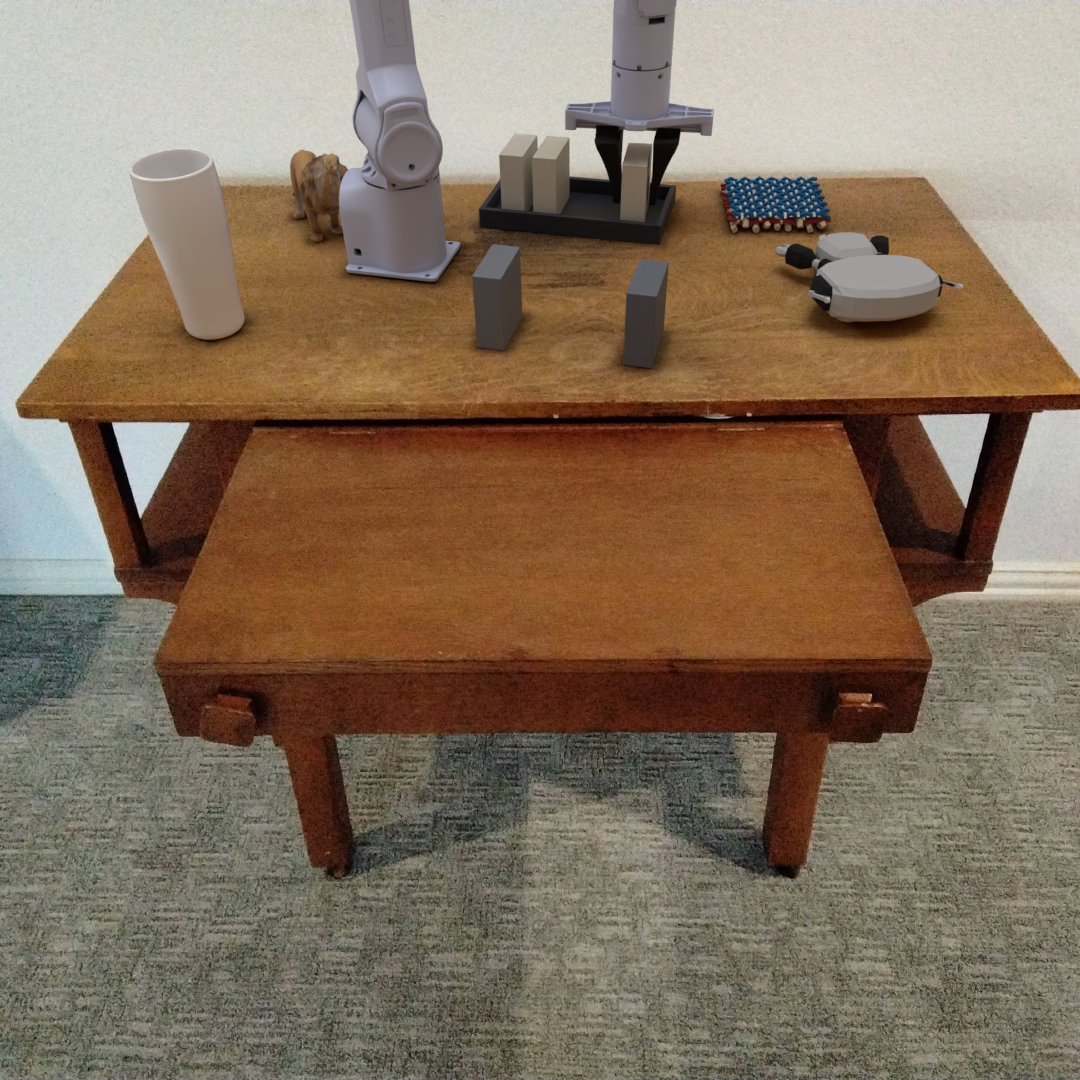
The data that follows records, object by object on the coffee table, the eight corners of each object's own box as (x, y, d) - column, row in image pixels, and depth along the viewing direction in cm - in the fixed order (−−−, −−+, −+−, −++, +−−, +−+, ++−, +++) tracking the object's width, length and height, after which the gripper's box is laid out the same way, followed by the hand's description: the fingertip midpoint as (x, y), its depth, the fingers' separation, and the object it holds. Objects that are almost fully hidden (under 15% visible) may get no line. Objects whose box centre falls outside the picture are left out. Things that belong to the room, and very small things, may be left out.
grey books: (477, 347, 85) (471, 276, 80) (496, 313, 89) (492, 243, 85) (652, 368, 82) (657, 296, 77) (663, 332, 86) (668, 261, 82)
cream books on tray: (501, 215, 103) (498, 154, 99) (517, 192, 108) (514, 133, 103) (556, 220, 102) (555, 159, 98) (569, 197, 106) (569, 137, 102)
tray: (479, 227, 103) (478, 208, 101) (506, 188, 110) (505, 170, 108) (659, 244, 99) (661, 225, 97) (675, 203, 106) (676, 185, 105)
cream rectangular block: (619, 227, 101) (622, 164, 96) (625, 203, 105) (628, 142, 101) (643, 228, 100) (647, 166, 96) (648, 204, 105) (652, 143, 100)
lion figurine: (373, 242, 100) (360, 155, 94) (325, 256, 98) (309, 168, 92) (315, 194, 110) (300, 112, 103) (271, 206, 107) (253, 122, 101)
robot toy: (763, 275, 95) (823, 344, 84) (769, 230, 92) (831, 295, 81) (882, 263, 97) (957, 330, 85) (891, 218, 94) (969, 281, 82)
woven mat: (717, 191, 108) (719, 173, 107) (813, 191, 107) (816, 173, 106) (726, 233, 100) (728, 214, 99) (830, 233, 100) (834, 214, 98)
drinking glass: (218, 354, 85) (170, 186, 75) (162, 335, 88) (108, 170, 77) (269, 319, 89) (231, 155, 79) (214, 302, 92) (170, 141, 82)
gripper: (560, 72, 90) (560, 213, 100) (717, 78, 89) (703, 220, 98) (570, 49, 96) (570, 185, 105) (719, 54, 94) (706, 191, 103)
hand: (635, 200), depth 102 cm, fingers open, 3 cm apart
